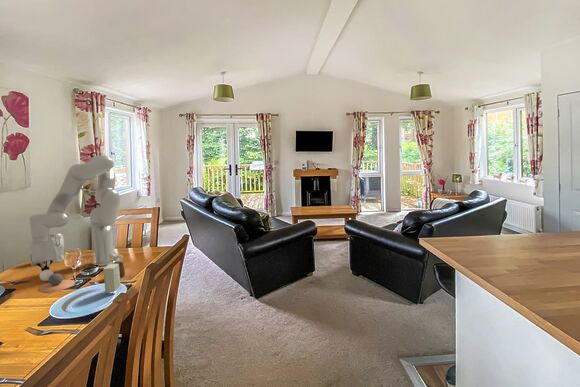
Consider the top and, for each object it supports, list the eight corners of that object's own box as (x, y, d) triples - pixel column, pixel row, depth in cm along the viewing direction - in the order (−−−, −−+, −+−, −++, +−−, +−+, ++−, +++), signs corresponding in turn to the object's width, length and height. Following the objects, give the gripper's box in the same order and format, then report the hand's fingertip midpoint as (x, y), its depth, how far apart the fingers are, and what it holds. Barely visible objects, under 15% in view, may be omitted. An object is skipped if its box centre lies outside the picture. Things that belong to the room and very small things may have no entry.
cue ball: (54, 267, 167) (57, 277, 167) (46, 269, 168) (49, 279, 168) (43, 270, 161) (46, 281, 161) (35, 272, 163) (38, 283, 163)
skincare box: (111, 289, 154) (109, 263, 152) (121, 288, 154) (119, 263, 153) (105, 295, 148) (102, 268, 146) (115, 294, 148) (113, 268, 146)
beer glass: (58, 262, 193) (55, 236, 190) (48, 261, 194) (45, 236, 192) (68, 258, 199) (66, 233, 197) (58, 257, 201) (56, 233, 199)
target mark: (79, 278, 167) (79, 278, 167) (69, 290, 154) (69, 289, 154) (47, 282, 163) (46, 281, 163) (33, 294, 150) (33, 293, 150)
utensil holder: (122, 278, 166) (120, 255, 164) (109, 279, 165) (106, 255, 164) (127, 274, 172) (125, 251, 170) (114, 274, 171) (112, 252, 170)
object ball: (62, 274, 164) (66, 276, 161) (56, 285, 162) (60, 288, 159) (51, 270, 160) (55, 273, 157) (44, 281, 158) (48, 284, 155)
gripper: (56, 234, 175) (60, 268, 178) (20, 241, 164) (25, 277, 166) (61, 237, 170) (65, 271, 173) (25, 243, 159) (29, 281, 161)
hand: (46, 274), depth 169 cm, fingers closed
